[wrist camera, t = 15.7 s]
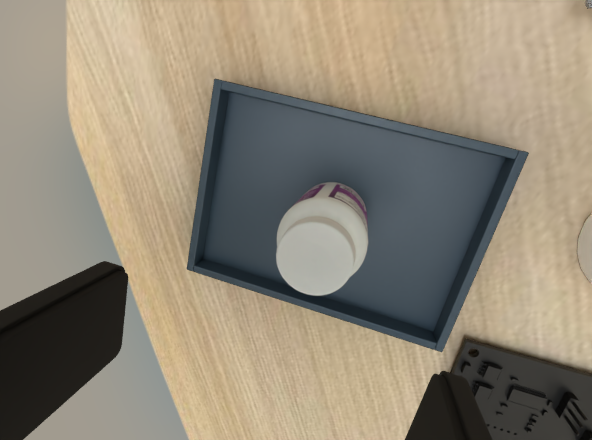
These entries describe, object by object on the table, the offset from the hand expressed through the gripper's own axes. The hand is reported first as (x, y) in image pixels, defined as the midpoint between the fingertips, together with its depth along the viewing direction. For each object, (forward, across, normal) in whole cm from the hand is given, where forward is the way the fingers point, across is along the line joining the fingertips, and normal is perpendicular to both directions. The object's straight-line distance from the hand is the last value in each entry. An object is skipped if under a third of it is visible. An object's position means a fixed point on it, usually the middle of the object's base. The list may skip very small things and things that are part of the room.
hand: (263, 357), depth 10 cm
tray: (+18, 0, 0) cm, 18 cm away
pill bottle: (+17, 0, 0) cm, 17 cm away
